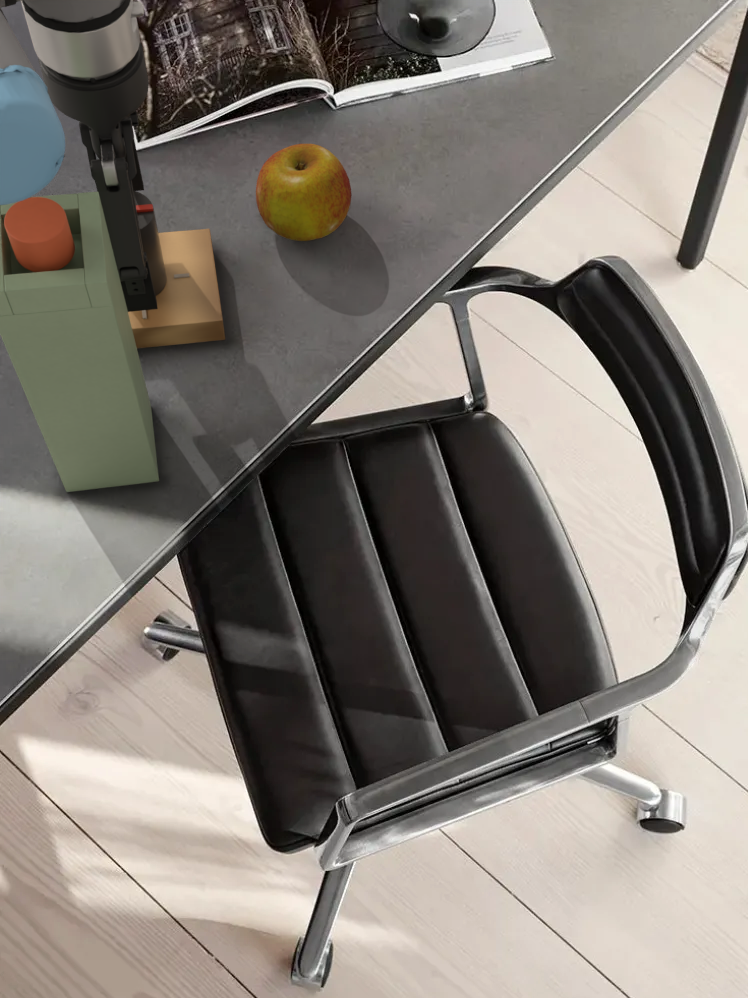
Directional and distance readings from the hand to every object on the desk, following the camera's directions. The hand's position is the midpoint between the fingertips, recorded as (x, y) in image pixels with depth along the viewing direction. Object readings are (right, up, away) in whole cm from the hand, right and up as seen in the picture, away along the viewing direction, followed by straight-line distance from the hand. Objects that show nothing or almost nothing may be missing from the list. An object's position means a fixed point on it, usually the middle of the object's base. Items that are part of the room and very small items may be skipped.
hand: (135, 246), depth 101 cm
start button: (0, -7, -24) cm, 25 cm away
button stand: (-2, -18, 0) cm, 18 cm away
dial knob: (-1, -2, +4) cm, 4 cm away
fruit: (+14, +6, +13) cm, 20 cm away
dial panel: (-1, -3, +7) cm, 8 cm away
